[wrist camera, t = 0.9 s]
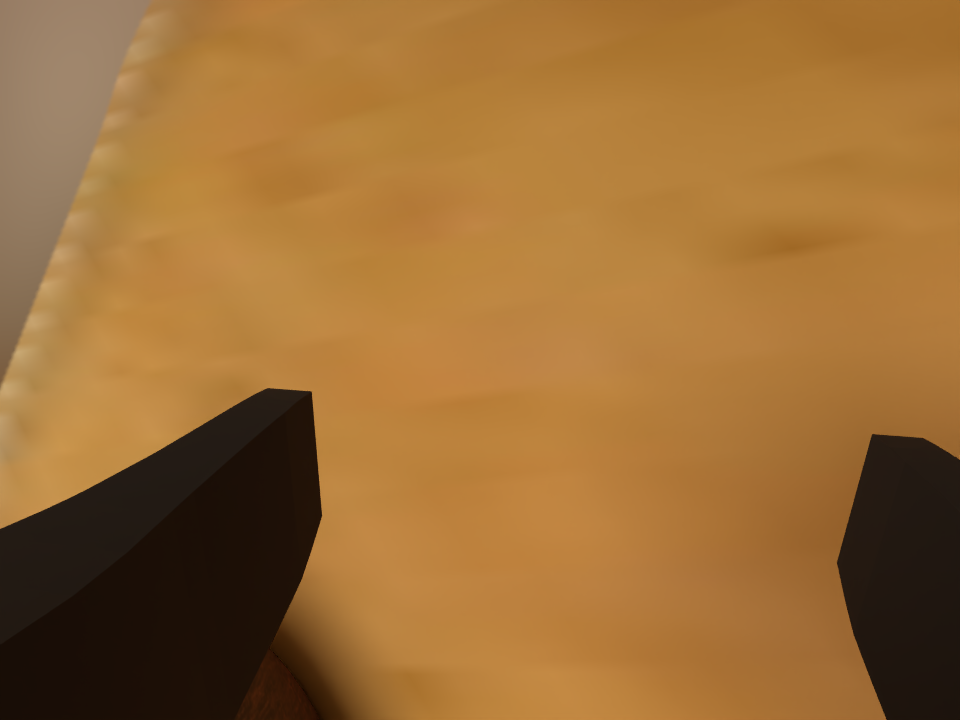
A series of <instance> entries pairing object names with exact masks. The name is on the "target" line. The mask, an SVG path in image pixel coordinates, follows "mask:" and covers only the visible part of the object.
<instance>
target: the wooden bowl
mask: <svg viewBox="0 0 960 720" xmlns="http://www.w3.org/2000/svg"><path fill="white" fill-rule="evenodd" d="M234 720H320V719H319V717H318V715H317V713H316V711H315V709H314V708H313V706H312V704H311V703H310V701H309V699H308V698H307V696H306V695H305V693H304V691H303V690H302V688H301V687H300V685H299V684H298V683H297V681H296V680H295V678H294V677H293V676H292V674H291V673H290V672H289V670H288V669H287V668H286V667H285V665H284V664H283V663H282V662H281V661H280V660H279V659H278V657H277V656H276V655H275V654H274V653H273V652H272V651H271V650H270V649H268V651H267V653H266V655H265V657H264V659H263V661H262V663H261V665H260V667H259V669H258V672H257V674H256V676H255V678H254V680H253V682H252V684H251V686H250V688H249V690H248V692H247V694H246V696H245V698H244V700H243V702H242V704H241V706H240V709H239V711H238V713H237V715H236V717H235V719H234Z"/></svg>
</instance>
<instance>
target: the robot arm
mask: <svg viewBox="0 0 960 720" xmlns="http://www.w3.org/2000/svg"><path fill="white" fill-rule="evenodd" d="M321 517H322V510H321V498H320V486H319V474H318V462H317V450H316V438H315V426H314V414H313V402H312V392H311V391H298V390H284V389H271V388H267V389H265V390H263V391H261V392H259V393H257V394H255V395H253V396H251V397H249V398H247V399H246V400H244V401H242V402H240V403H239V404H237V405H235V406H233V407H232V408H230V409H228V410H227V411H225V412H223V413H222V414H220V415H218V416H217V417H215V418H213V419H212V420H210V421H208V422H207V423H205V424H203V425H202V426H200V427H198V428H196V429H195V430H193V431H191V432H190V433H188V434H186V435H185V436H183V437H181V438H179V439H178V440H176V441H174V442H173V443H171V444H169V445H168V446H166V447H164V448H163V449H161V450H159V451H157V452H156V453H154V454H152V455H150V456H149V457H147V458H145V459H143V460H141V461H139V462H137V463H135V464H134V465H132V466H130V467H128V468H126V469H124V470H122V471H121V472H119V473H117V474H115V475H113V476H111V477H109V478H107V479H106V480H104V481H102V482H100V483H98V484H96V485H94V486H93V487H91V488H89V489H87V490H85V491H83V492H81V493H79V494H77V495H75V496H73V497H71V498H69V499H67V500H65V501H62V502H60V503H58V504H56V505H54V506H52V507H50V508H47V509H45V510H43V511H41V512H39V513H36V514H34V515H32V516H29V517H27V518H25V519H22V520H20V521H18V522H15V523H13V524H11V525H8V526H6V527H4V528H2V529H0V720H234V719H235V717H236V715H237V713H238V711H239V709H240V706H241V704H242V702H243V700H244V698H245V696H246V694H247V692H248V690H249V688H250V686H251V684H252V682H253V680H254V678H255V676H256V674H257V672H258V669H259V667H260V665H261V663H262V661H263V659H264V657H265V655H266V653H267V651H268V649H269V647H270V645H271V643H272V641H273V639H274V637H275V635H276V633H277V630H278V628H279V626H280V624H281V622H282V620H283V618H284V616H285V614H286V612H287V610H288V607H289V605H290V603H291V601H292V599H293V597H294V595H295V593H296V590H297V588H298V586H299V584H300V582H301V580H302V577H303V574H304V571H305V568H306V565H307V562H308V559H309V556H310V553H311V550H312V547H313V543H314V540H315V537H316V534H317V530H318V527H319V524H320V521H321ZM837 565H838V569H839V574H840V578H841V583H842V588H843V592H844V597H845V602H846V606H847V610H848V614H849V618H850V622H851V626H852V630H853V634H854V636H855V639H856V642H857V644H858V647H859V650H860V653H861V655H862V658H863V660H864V663H865V666H866V668H867V671H868V673H869V676H870V679H871V681H872V684H873V686H874V689H875V692H876V694H877V697H878V699H879V702H880V704H881V707H882V709H883V712H884V714H885V717H886V719H887V720H960V460H959V459H957V458H956V457H954V456H953V455H951V454H950V453H948V452H946V451H945V450H943V449H942V448H940V447H938V446H937V445H935V444H933V443H931V442H929V441H928V440H926V439H924V438H915V437H902V436H889V435H876V434H872V437H871V440H870V444H869V448H868V451H867V455H866V459H865V462H864V466H863V470H862V473H861V477H860V481H859V484H858V488H857V492H856V495H855V499H854V502H853V506H852V510H851V513H850V517H849V521H848V524H847V528H846V532H845V535H844V539H843V543H842V546H841V550H840V554H839V557H838V561H837Z"/></svg>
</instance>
